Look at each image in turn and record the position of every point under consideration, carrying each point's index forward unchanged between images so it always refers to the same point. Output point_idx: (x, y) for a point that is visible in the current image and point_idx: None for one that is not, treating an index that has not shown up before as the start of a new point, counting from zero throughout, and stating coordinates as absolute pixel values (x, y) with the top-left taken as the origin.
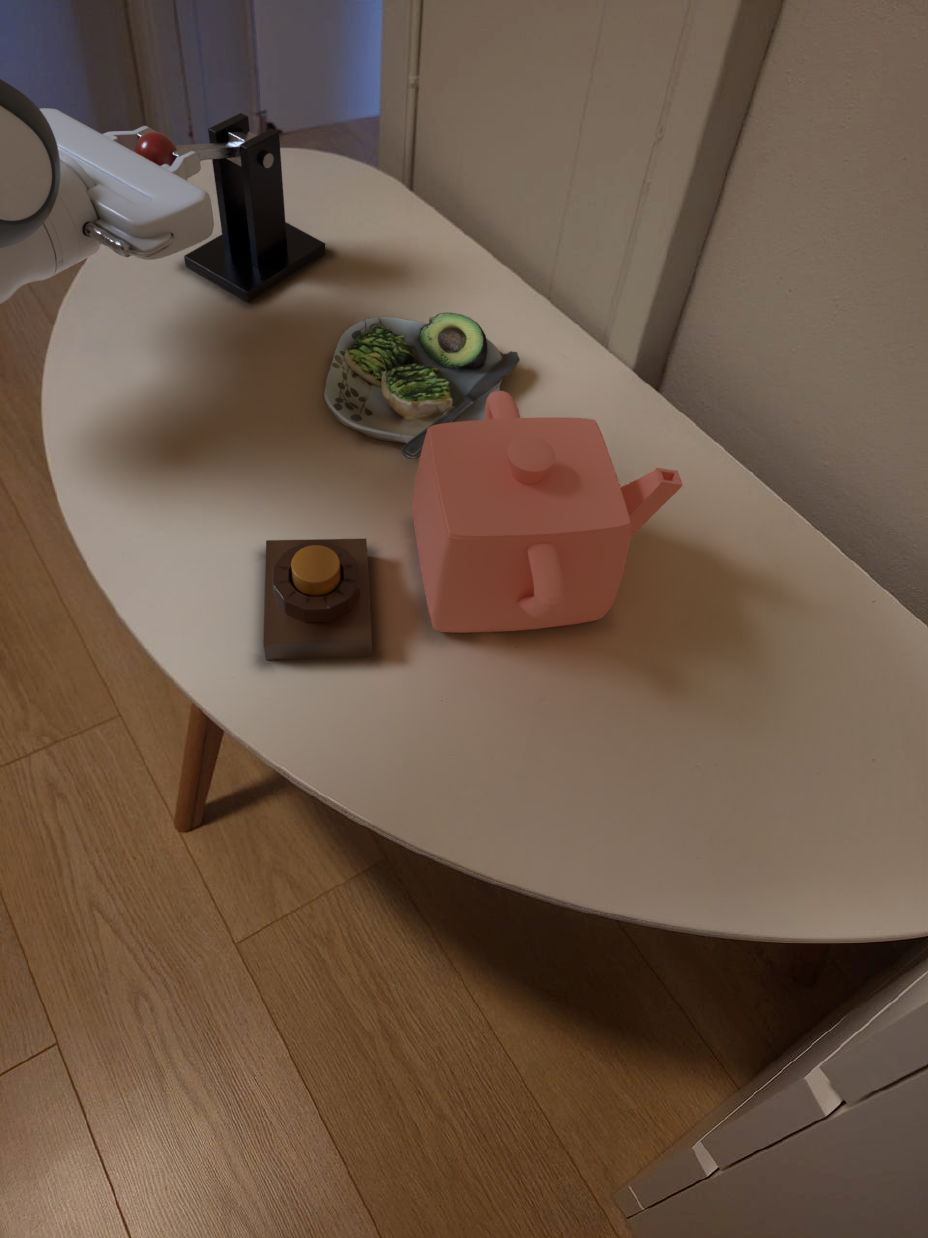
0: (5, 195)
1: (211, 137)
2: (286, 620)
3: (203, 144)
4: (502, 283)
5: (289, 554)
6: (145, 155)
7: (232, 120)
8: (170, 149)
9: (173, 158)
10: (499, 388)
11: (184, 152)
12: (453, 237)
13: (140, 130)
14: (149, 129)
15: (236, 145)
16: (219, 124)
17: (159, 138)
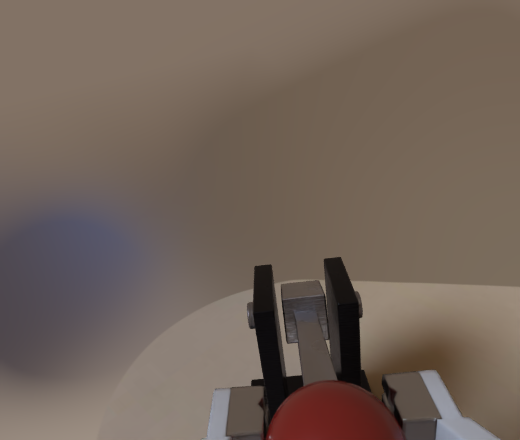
0: None
1: (262, 324)
2: None
3: (303, 342)
4: (513, 293)
5: None
6: None
7: (263, 280)
8: (392, 414)
9: (405, 434)
10: None
11: (421, 393)
12: (410, 285)
13: (226, 415)
14: (240, 393)
15: (310, 311)
16: (257, 296)
17: (360, 406)
